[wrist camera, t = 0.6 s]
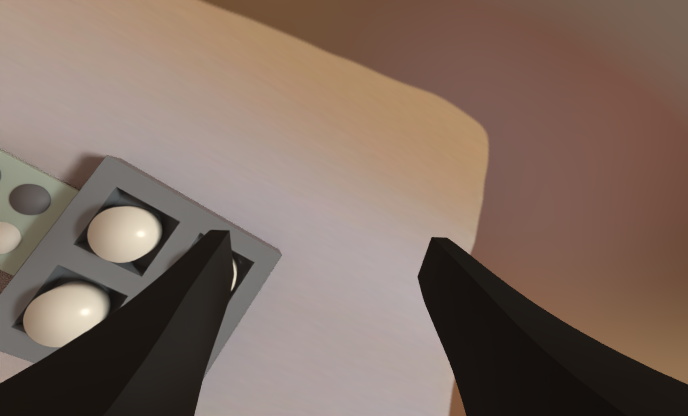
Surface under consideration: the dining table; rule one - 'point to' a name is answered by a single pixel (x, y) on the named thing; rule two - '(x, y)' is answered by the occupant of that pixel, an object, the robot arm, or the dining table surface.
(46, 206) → the tile
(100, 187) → the button board
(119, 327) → the robot arm
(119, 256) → the button
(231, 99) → the dining table surface
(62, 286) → the button
